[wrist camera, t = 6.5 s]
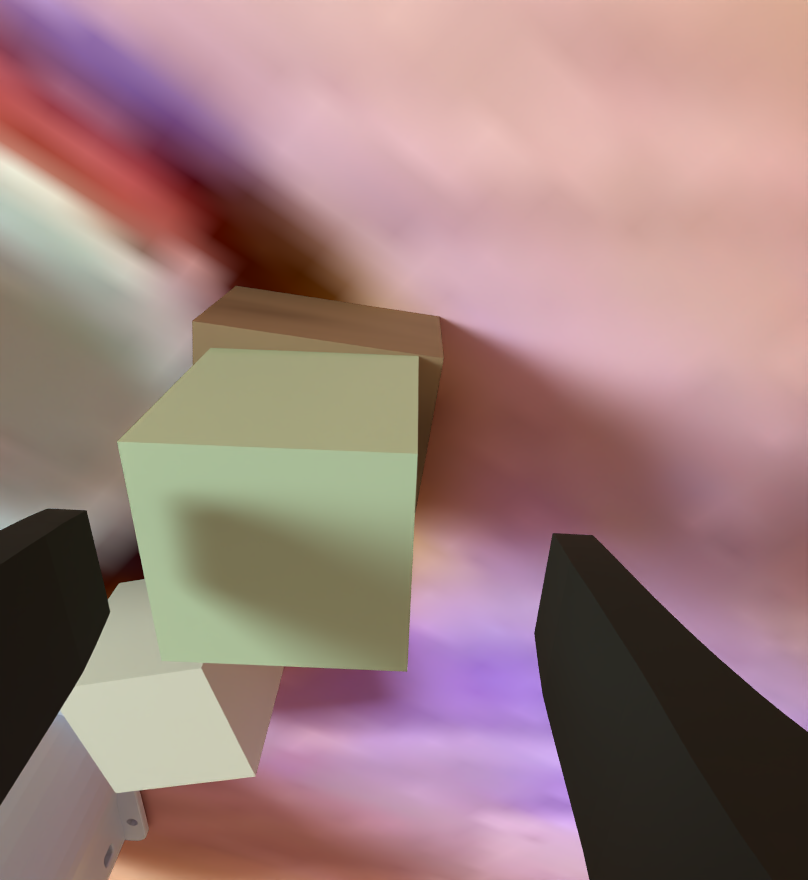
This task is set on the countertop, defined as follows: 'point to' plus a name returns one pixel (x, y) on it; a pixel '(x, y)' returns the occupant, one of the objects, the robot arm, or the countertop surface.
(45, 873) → the robot arm
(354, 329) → the walnut block
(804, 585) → the countertop surface
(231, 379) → the sage cube
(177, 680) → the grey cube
